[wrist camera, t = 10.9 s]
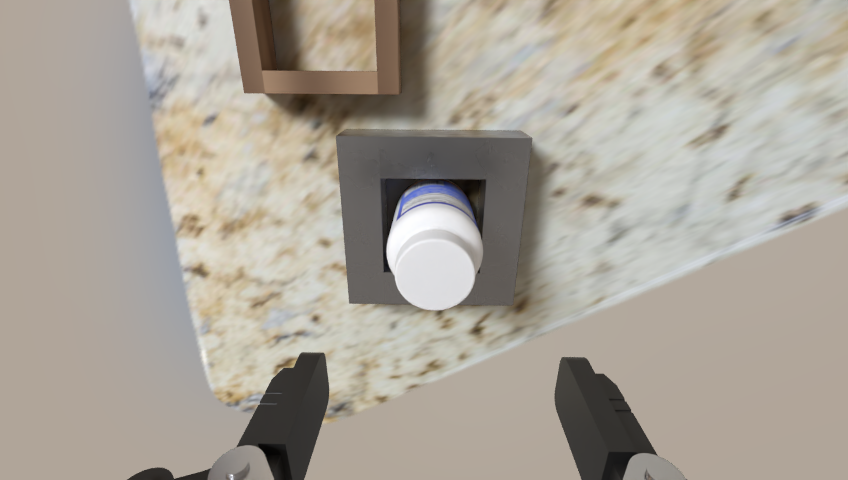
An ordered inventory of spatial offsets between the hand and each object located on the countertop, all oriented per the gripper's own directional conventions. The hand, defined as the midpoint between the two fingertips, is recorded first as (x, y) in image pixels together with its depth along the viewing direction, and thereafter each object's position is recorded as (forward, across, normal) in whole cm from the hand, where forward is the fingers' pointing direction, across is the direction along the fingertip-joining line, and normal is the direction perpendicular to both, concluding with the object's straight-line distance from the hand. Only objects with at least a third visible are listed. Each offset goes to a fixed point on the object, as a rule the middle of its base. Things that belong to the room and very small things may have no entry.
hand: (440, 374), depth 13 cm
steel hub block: (+16, 0, 0) cm, 16 cm away
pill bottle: (+16, 0, 0) cm, 16 cm away
